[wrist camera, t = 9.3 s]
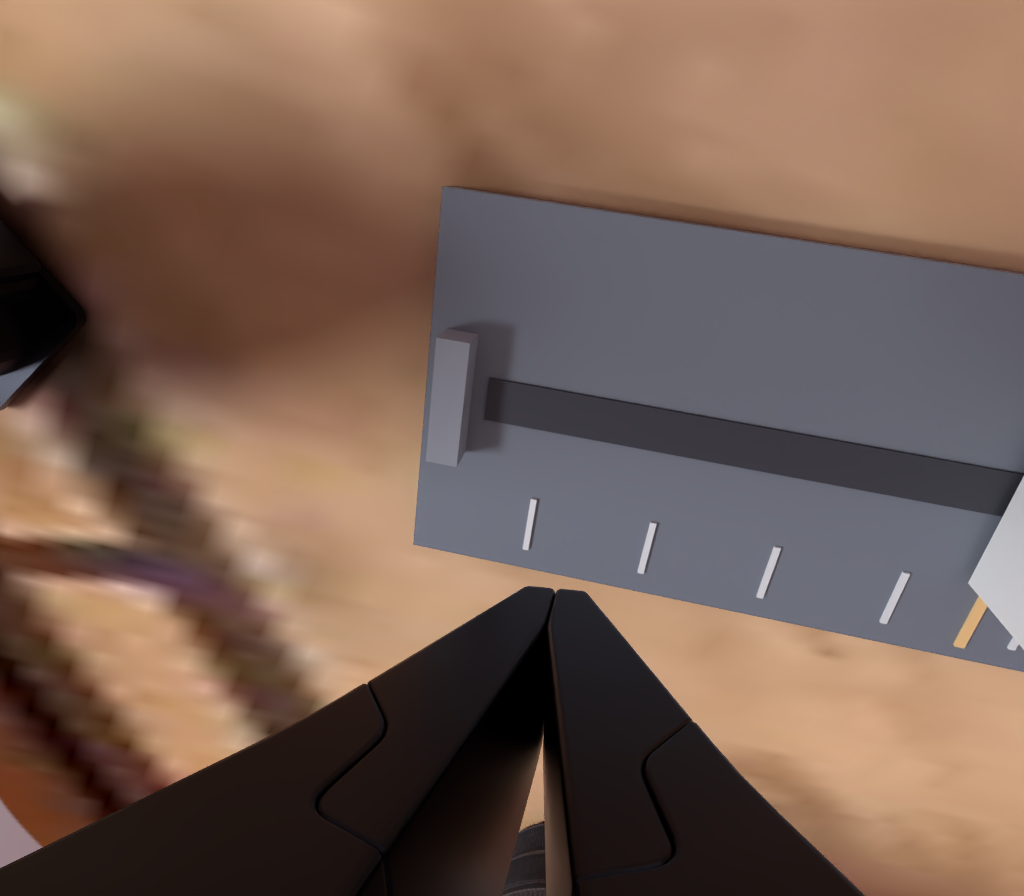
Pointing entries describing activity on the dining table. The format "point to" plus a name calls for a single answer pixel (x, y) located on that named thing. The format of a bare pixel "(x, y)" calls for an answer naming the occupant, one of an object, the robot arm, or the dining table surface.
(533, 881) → the camera lens
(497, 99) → the dining table surface
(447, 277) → the mixer panel
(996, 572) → the fader knob
